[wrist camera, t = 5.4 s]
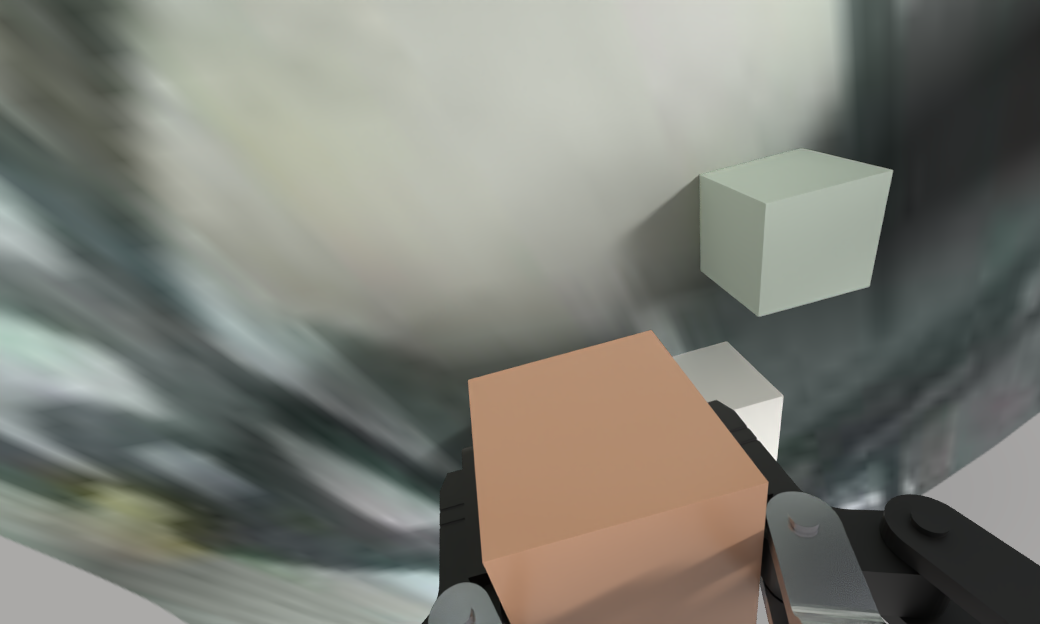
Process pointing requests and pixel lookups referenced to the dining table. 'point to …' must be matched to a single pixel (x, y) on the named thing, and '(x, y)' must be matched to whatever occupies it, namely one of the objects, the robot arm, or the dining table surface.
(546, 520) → the terracotta block
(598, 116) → the dining table surface
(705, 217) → the sage block
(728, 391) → the cream block
